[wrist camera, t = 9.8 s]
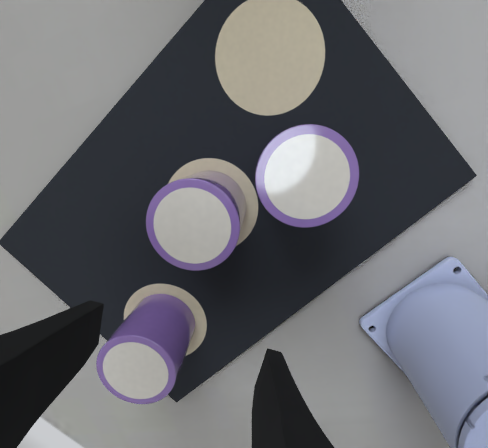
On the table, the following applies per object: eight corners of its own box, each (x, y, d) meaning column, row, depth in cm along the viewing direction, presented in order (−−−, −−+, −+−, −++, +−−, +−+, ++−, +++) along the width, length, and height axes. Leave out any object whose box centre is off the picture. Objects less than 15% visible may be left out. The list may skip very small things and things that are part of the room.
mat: (473, 175, 19) (477, 175, 19) (177, 398, 25) (176, 402, 25) (276, -79, 16) (276, -84, 16) (2, 241, 23) (-3, 242, 22)
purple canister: (209, 325, 23) (192, 376, 18) (165, 360, 24) (138, 418, 19) (162, 280, 22) (131, 320, 17) (120, 319, 23) (79, 366, 18)
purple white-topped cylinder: (261, 209, 20) (259, 230, 15) (210, 255, 21) (192, 288, 16) (210, 154, 20) (191, 157, 15) (160, 204, 21) (126, 223, 16)
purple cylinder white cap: (351, 172, 19) (381, 181, 14) (292, 222, 20) (300, 247, 15) (300, 112, 19) (313, 100, 13) (242, 167, 20) (234, 175, 15)
